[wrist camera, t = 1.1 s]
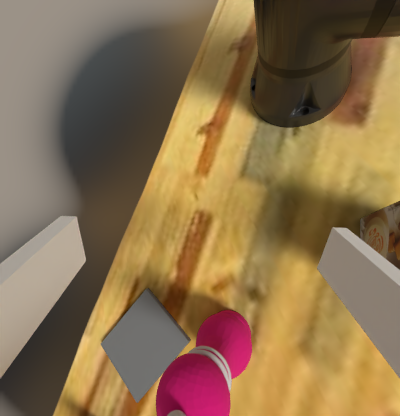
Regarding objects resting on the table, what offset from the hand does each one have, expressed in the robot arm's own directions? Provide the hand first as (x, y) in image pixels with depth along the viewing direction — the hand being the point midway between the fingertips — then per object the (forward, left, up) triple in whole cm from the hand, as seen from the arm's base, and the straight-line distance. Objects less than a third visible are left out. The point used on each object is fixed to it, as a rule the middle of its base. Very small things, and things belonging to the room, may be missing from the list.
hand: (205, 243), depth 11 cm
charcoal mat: (+23, -4, -24) cm, 34 cm away
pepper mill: (+11, +5, -24) cm, 27 cm away
